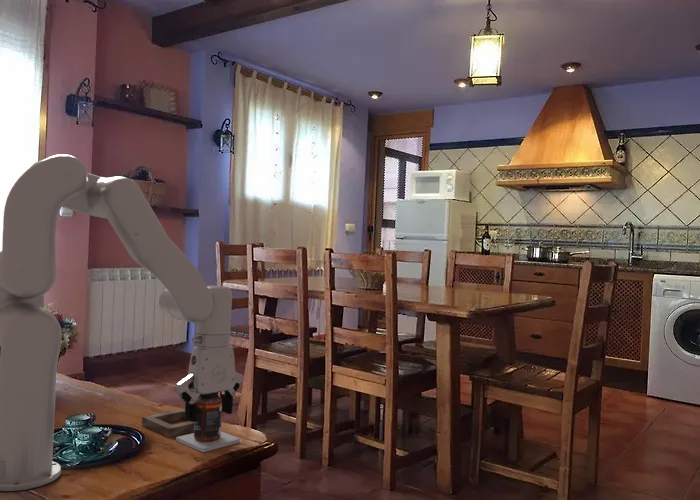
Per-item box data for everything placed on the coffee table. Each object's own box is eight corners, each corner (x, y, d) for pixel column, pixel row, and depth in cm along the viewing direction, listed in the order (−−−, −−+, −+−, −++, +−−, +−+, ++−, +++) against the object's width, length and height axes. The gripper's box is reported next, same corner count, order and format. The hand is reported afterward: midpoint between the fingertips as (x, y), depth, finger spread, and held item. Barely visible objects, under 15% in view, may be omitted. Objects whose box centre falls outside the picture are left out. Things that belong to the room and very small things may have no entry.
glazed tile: (202, 452, 124) (202, 448, 124) (176, 440, 131) (176, 437, 131) (239, 442, 132) (239, 438, 132) (213, 431, 139) (213, 428, 139)
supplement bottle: (226, 437, 132) (228, 387, 132) (207, 444, 127) (209, 392, 127) (207, 432, 135) (209, 383, 135) (187, 438, 130) (190, 388, 130)
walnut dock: (168, 437, 133) (169, 428, 133) (141, 425, 141) (142, 416, 141) (212, 427, 142) (213, 418, 142) (184, 416, 150) (185, 408, 150)
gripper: (189, 346, 123) (185, 428, 122) (253, 339, 136) (249, 413, 136) (169, 341, 127) (165, 419, 127) (233, 335, 141) (229, 406, 140)
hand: (209, 416), depth 131 cm, fingers open, 9 cm apart
